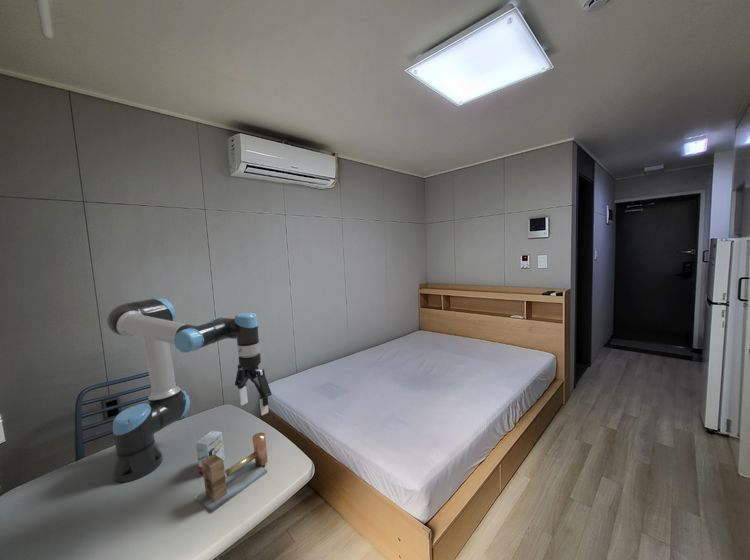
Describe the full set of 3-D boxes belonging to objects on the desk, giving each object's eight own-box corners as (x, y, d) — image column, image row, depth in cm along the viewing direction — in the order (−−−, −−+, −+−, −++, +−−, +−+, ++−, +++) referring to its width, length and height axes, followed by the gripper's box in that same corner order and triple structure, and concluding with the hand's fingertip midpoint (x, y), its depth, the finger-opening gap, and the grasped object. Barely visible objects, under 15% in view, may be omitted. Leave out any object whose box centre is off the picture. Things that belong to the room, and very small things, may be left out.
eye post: (197, 498, 100) (192, 462, 99) (251, 462, 116) (248, 431, 115) (212, 512, 94) (207, 473, 93) (267, 472, 111) (263, 439, 110)
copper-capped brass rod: (224, 482, 105) (221, 454, 104) (263, 456, 117) (260, 431, 117) (231, 487, 102) (228, 458, 101) (270, 460, 115) (267, 434, 114)
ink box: (209, 474, 111) (206, 444, 110) (198, 473, 112) (195, 443, 111) (225, 458, 120) (222, 431, 119) (215, 457, 121) (211, 430, 120)
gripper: (222, 352, 116) (227, 404, 118) (260, 363, 101) (265, 423, 104) (240, 346, 122) (245, 396, 124) (278, 356, 108) (283, 413, 110)
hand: (254, 408), depth 114 cm, fingers open, 13 cm apart
